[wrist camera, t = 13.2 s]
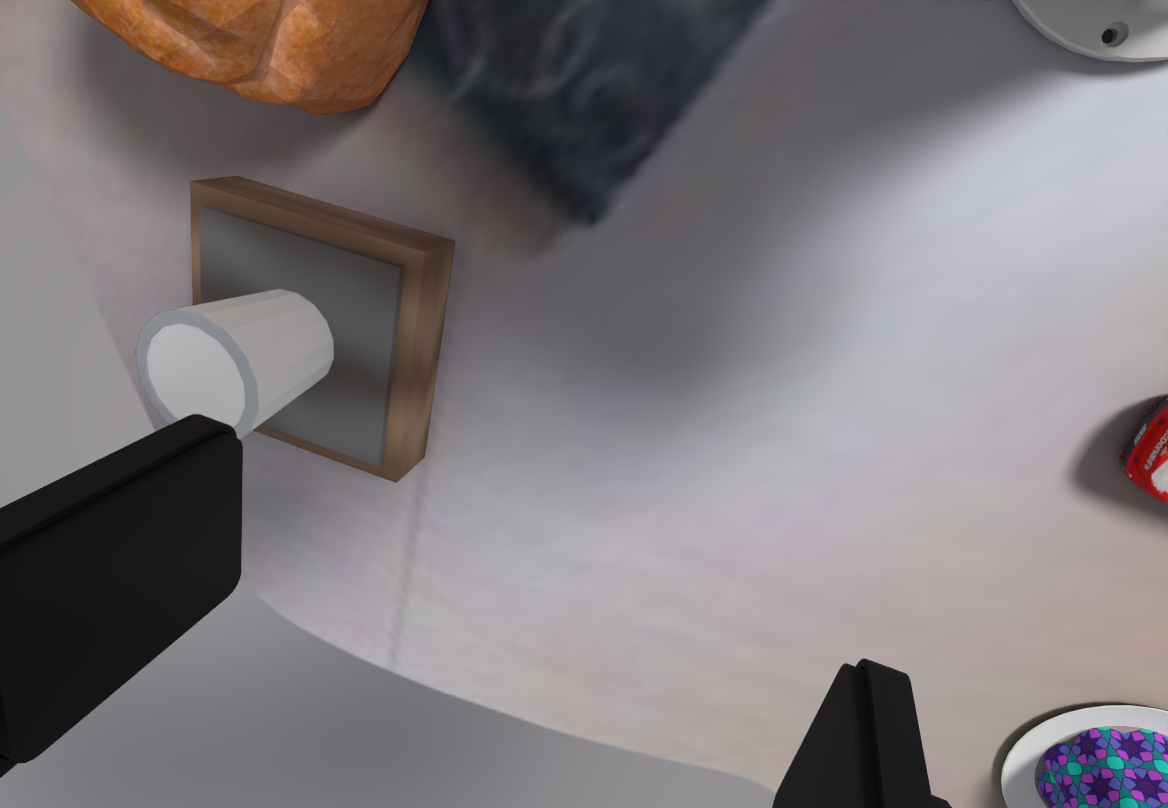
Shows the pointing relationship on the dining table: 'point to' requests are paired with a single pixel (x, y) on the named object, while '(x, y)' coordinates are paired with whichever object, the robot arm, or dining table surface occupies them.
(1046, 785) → the pudding
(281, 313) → the shot glass
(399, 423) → the tray
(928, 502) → the dining table surface
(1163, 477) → the race car
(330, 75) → the bread
